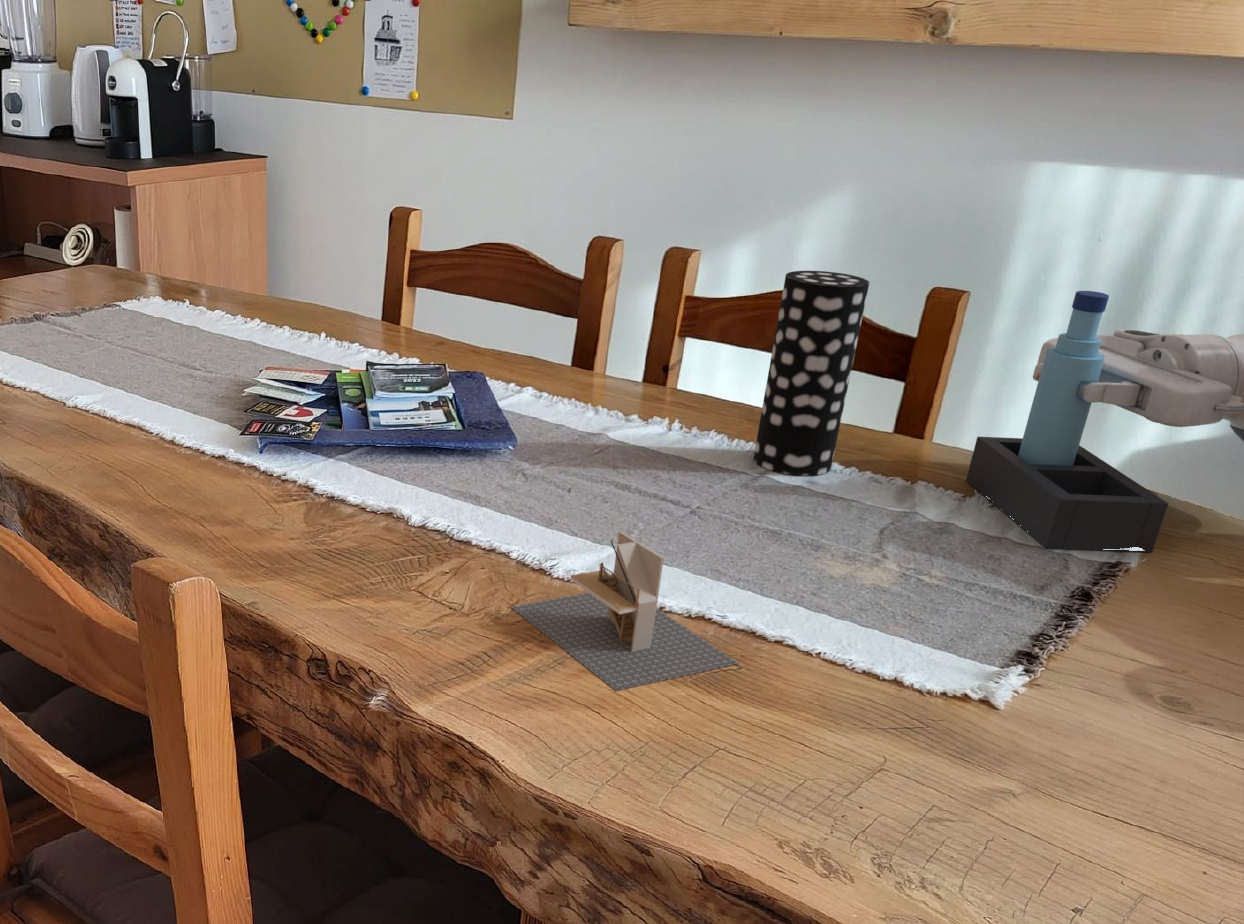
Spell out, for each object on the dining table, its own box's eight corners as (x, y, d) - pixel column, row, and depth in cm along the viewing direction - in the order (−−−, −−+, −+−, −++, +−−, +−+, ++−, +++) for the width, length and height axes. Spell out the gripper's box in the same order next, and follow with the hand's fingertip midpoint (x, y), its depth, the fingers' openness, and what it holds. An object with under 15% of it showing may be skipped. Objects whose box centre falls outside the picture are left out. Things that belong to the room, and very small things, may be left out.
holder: (1058, 484, 135) (1072, 440, 133) (1152, 552, 119) (1169, 503, 116) (965, 480, 135) (977, 436, 133) (1045, 548, 119) (1060, 499, 116)
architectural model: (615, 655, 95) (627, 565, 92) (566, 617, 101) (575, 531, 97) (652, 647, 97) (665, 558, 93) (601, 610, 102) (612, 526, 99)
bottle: (1056, 460, 132) (1105, 289, 123) (1080, 477, 127) (1133, 300, 119) (1007, 459, 131) (1053, 287, 123) (1029, 475, 127) (1079, 298, 119)
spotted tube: (846, 468, 137) (886, 282, 128) (796, 480, 133) (834, 289, 124) (787, 446, 143) (820, 268, 134) (737, 457, 139) (768, 274, 130)
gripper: (1248, 440, 120) (1125, 445, 117) (1099, 382, 138) (989, 385, 135) (1271, 376, 117) (1145, 379, 114) (1116, 325, 135) (1004, 327, 132)
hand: (1059, 382), depth 125 cm, fingers closed on bottle, 5 cm apart
